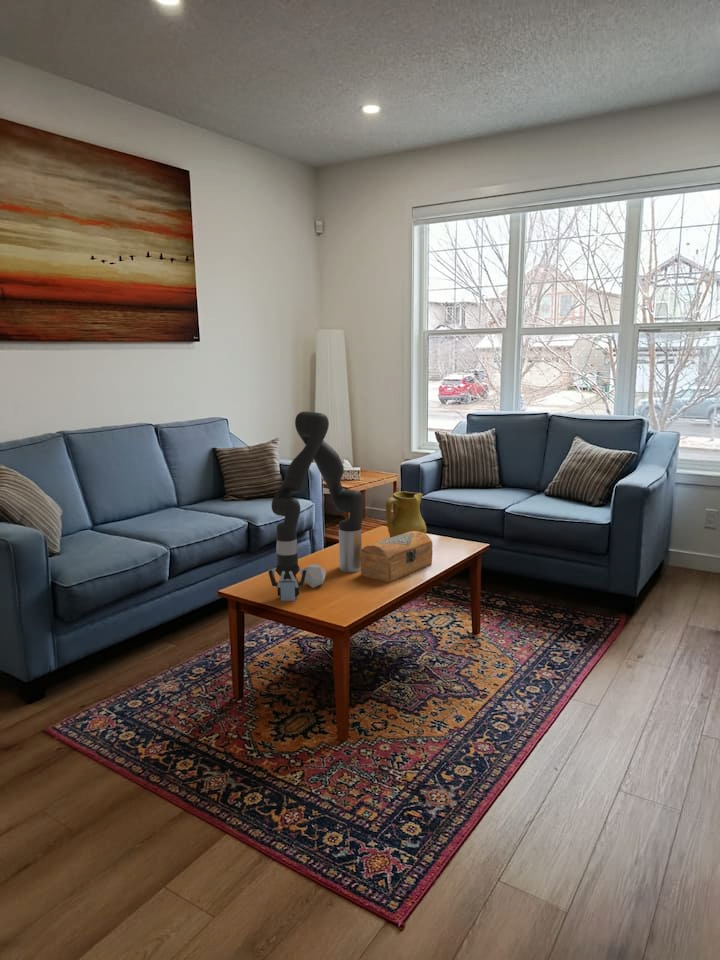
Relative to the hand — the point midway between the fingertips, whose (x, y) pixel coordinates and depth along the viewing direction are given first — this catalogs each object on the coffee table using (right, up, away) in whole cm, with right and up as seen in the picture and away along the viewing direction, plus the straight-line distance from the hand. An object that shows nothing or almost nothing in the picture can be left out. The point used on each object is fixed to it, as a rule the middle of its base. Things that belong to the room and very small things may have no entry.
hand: (288, 596), depth 244 cm
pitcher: (+47, +11, +66) cm, 82 cm away
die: (+8, +5, +8) cm, 12 cm away
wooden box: (+42, +5, +32) cm, 52 cm away
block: (0, -1, 0) cm, 1 cm away
